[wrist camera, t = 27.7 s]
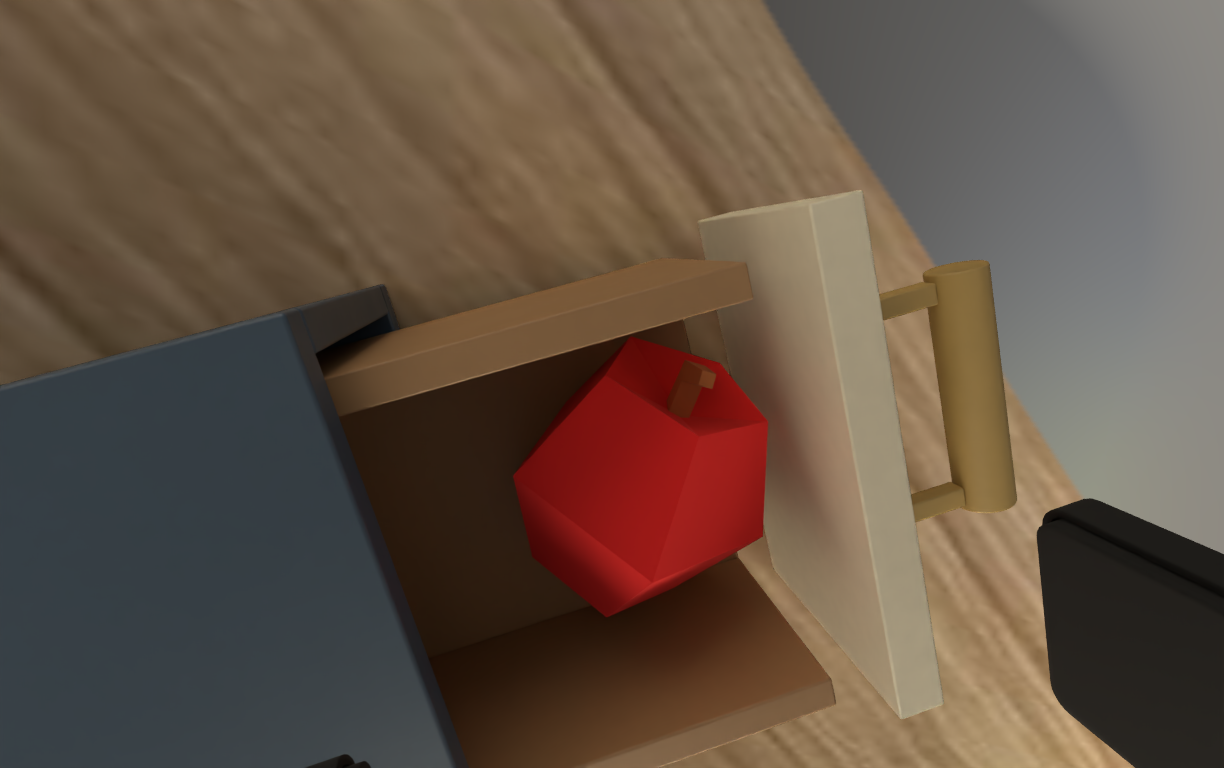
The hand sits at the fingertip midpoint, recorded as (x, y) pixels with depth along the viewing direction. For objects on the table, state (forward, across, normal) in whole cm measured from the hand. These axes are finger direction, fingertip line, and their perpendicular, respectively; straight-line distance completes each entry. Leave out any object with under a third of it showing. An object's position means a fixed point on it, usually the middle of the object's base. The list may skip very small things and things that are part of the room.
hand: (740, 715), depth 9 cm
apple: (+12, -1, 0) cm, 13 cm away
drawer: (+13, -1, +1) cm, 14 cm away
